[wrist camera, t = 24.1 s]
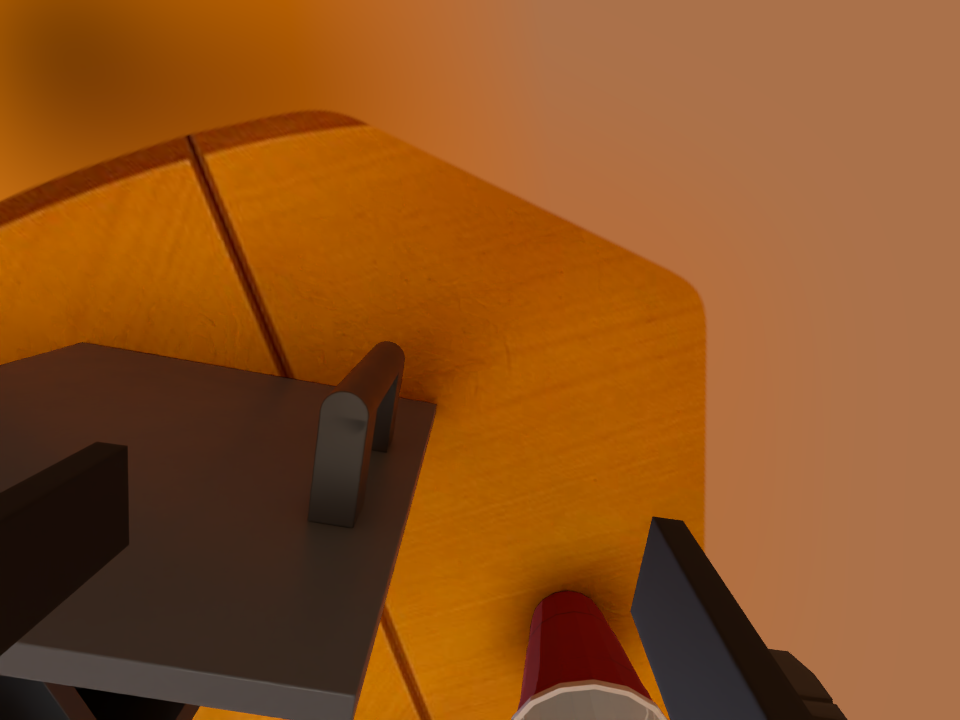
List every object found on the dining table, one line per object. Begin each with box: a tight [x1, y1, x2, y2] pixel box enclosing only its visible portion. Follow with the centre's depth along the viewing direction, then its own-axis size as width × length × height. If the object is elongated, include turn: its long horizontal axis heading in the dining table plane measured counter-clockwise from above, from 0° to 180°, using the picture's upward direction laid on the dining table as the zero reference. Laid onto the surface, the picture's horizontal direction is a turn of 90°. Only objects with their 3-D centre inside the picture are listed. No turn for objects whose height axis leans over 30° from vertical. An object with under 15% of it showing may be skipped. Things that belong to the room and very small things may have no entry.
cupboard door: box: [0, 341, 437, 720], centre depth 27 cm, size 7×26×26 cm, turn 80°
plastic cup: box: [511, 591, 667, 720], centre depth 39 cm, size 11×11×12 cm
